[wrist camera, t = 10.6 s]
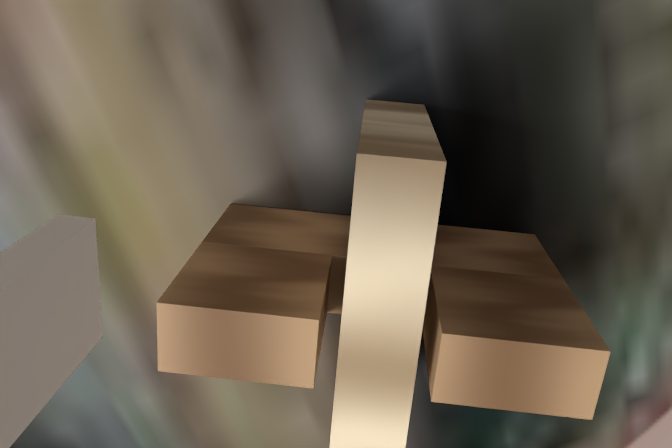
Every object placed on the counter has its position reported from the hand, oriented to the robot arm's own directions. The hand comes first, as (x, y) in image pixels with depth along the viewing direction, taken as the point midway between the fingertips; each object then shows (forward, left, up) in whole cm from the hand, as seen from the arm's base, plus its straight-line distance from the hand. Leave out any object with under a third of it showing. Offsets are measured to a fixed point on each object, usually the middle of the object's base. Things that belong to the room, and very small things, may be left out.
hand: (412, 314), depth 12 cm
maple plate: (0, +5, -16) cm, 16 cm away
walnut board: (0, +5, -16) cm, 17 cm away
